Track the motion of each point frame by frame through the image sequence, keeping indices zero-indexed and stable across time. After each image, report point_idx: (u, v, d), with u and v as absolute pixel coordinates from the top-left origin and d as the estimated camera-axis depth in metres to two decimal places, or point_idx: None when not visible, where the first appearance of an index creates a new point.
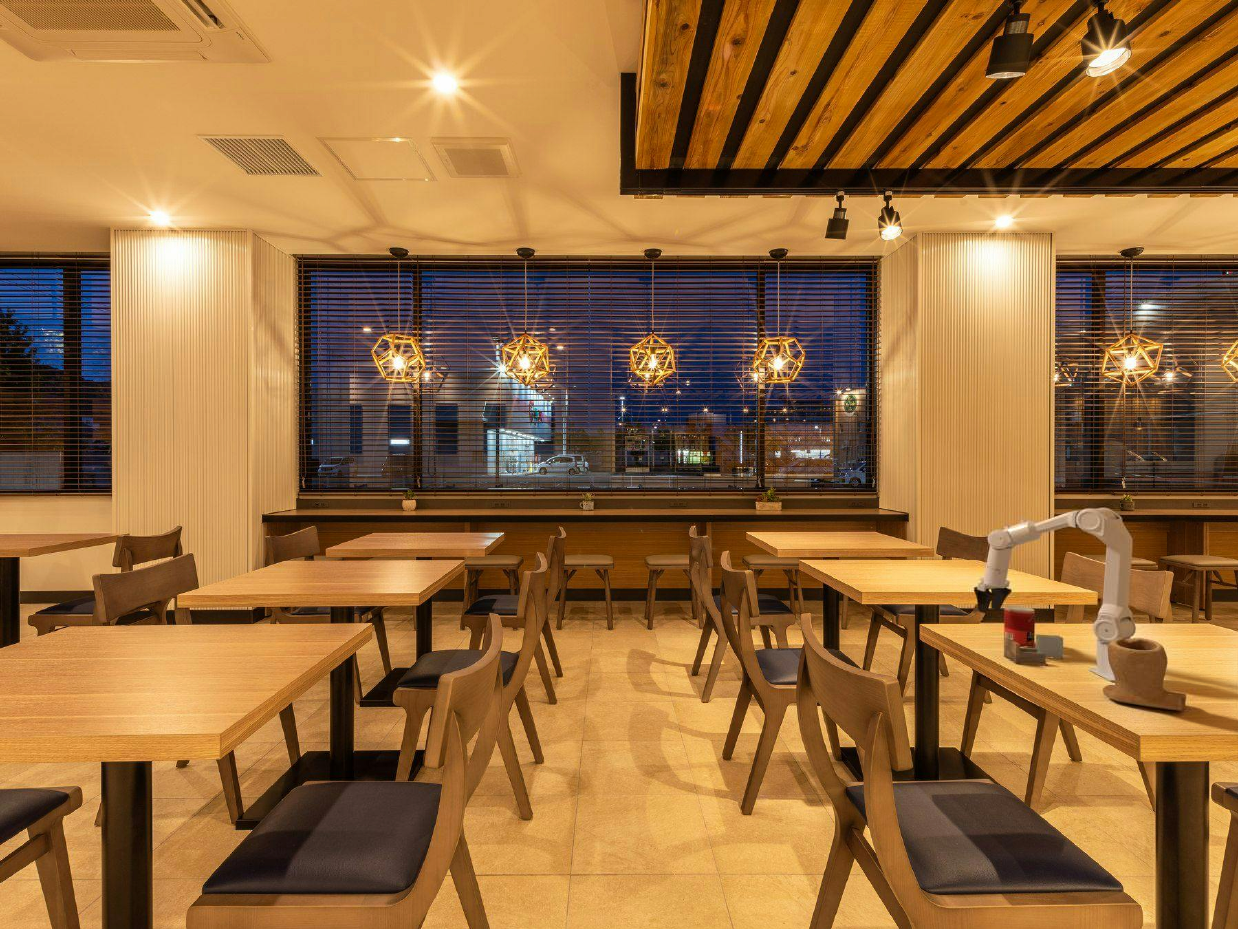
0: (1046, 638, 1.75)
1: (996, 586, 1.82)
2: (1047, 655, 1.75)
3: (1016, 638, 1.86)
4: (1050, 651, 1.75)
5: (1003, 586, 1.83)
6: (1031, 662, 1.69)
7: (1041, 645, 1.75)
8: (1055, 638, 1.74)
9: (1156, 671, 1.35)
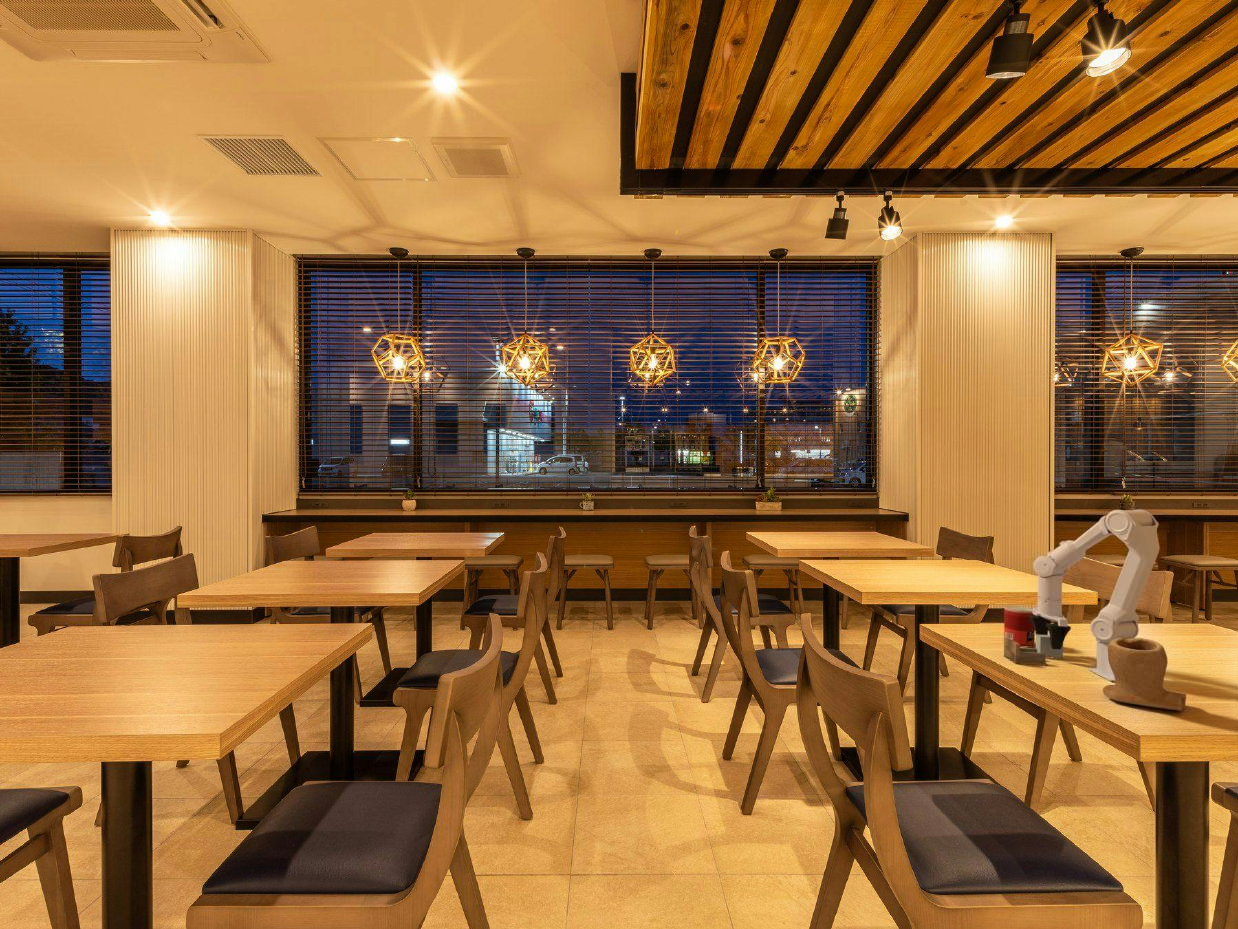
0: (1046, 638, 1.75)
1: (1063, 617, 1.73)
2: (1047, 655, 1.75)
3: (1016, 638, 1.86)
4: (1050, 651, 1.75)
5: None
6: (1031, 662, 1.69)
7: (1041, 645, 1.75)
8: None
9: (1156, 671, 1.35)
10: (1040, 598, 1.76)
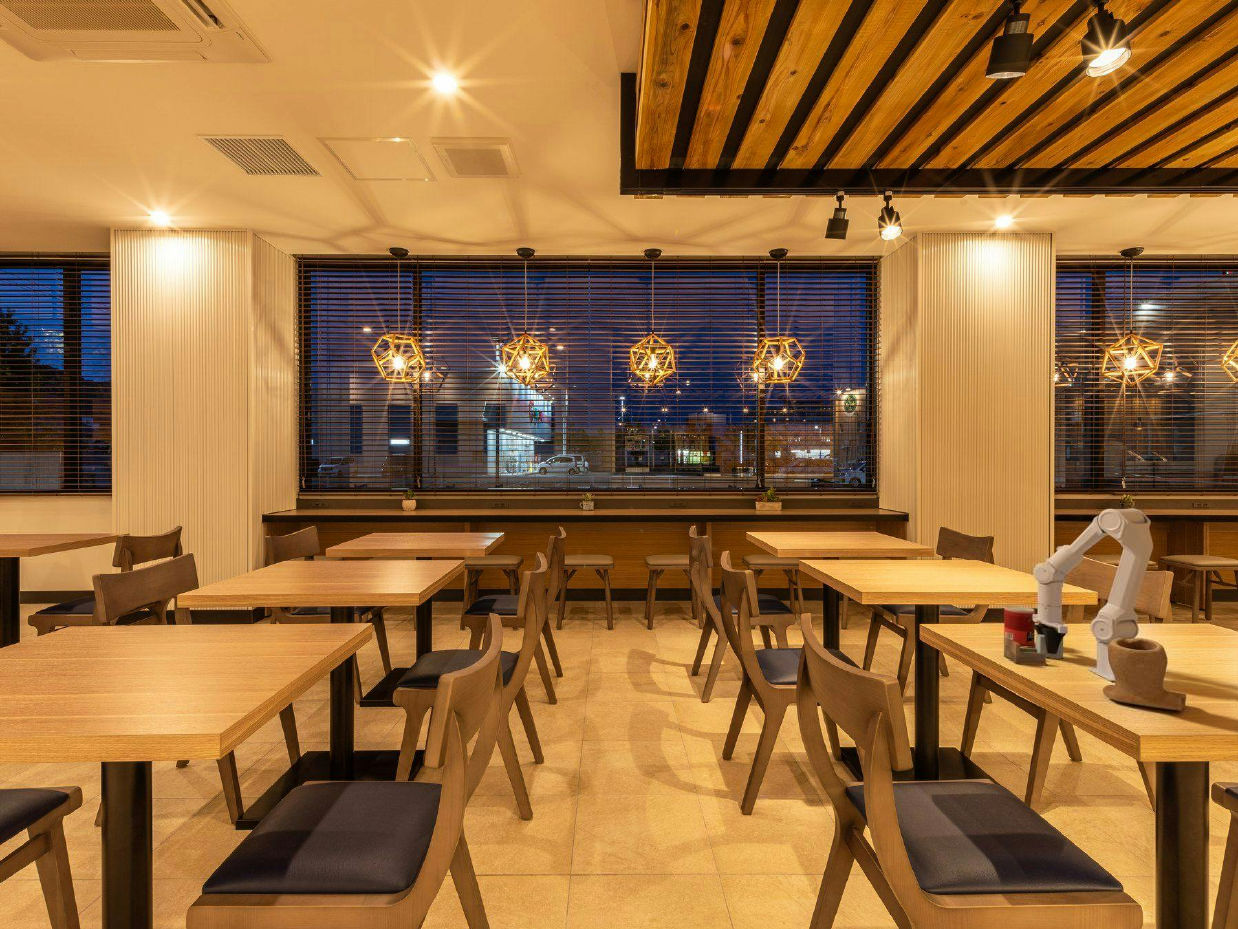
0: None
1: (1063, 624, 1.73)
2: (1047, 655, 1.75)
3: (1016, 638, 1.86)
4: None
5: None
6: (1031, 662, 1.69)
7: (1041, 644, 1.75)
8: None
9: (1156, 672, 1.35)
10: (1040, 605, 1.76)
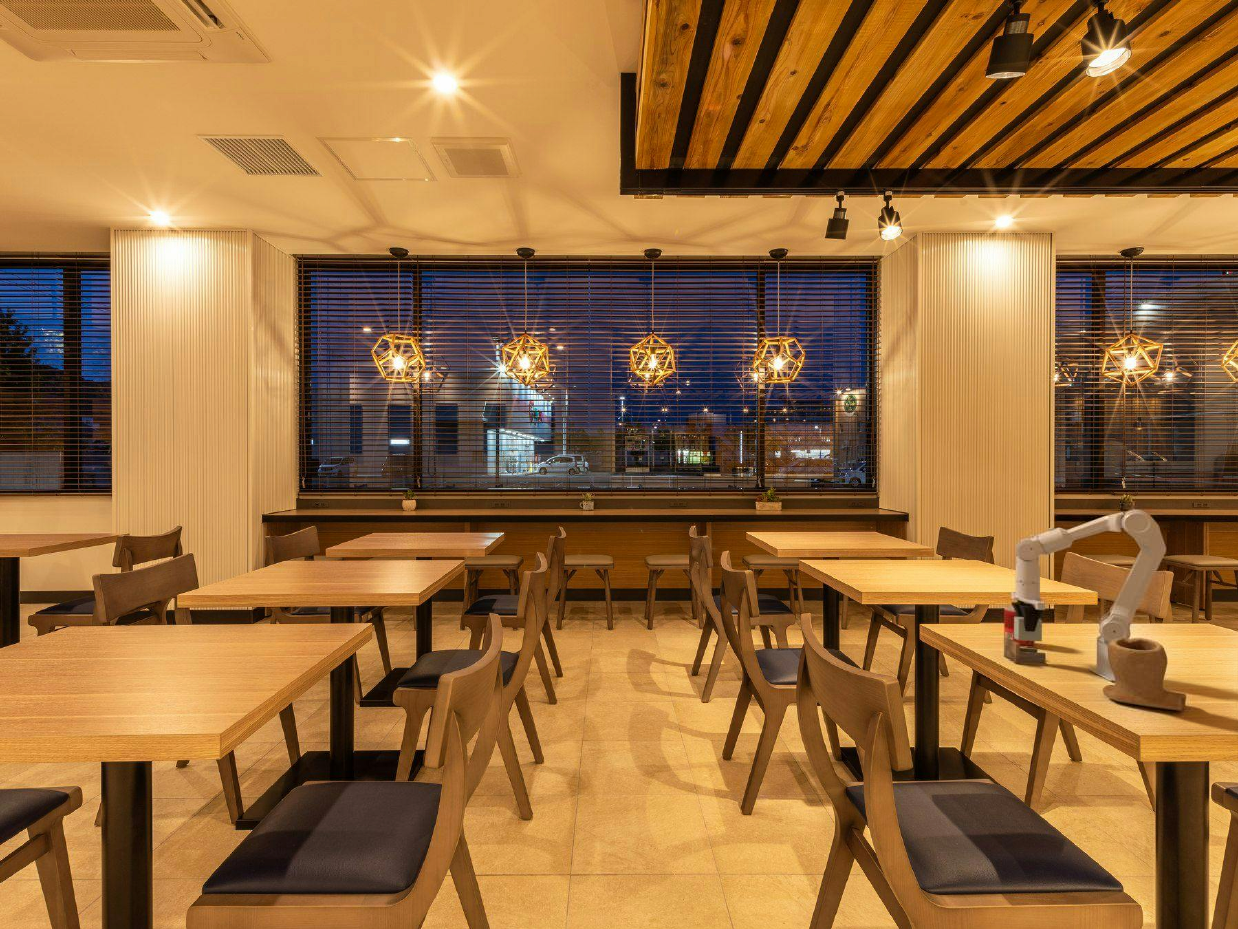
0: None
1: (1041, 600, 1.68)
2: (1025, 637, 1.71)
3: None
4: (1029, 634, 1.70)
5: None
6: (1031, 662, 1.69)
7: (1019, 627, 1.71)
8: None
9: (1156, 672, 1.35)
10: (1018, 581, 1.71)
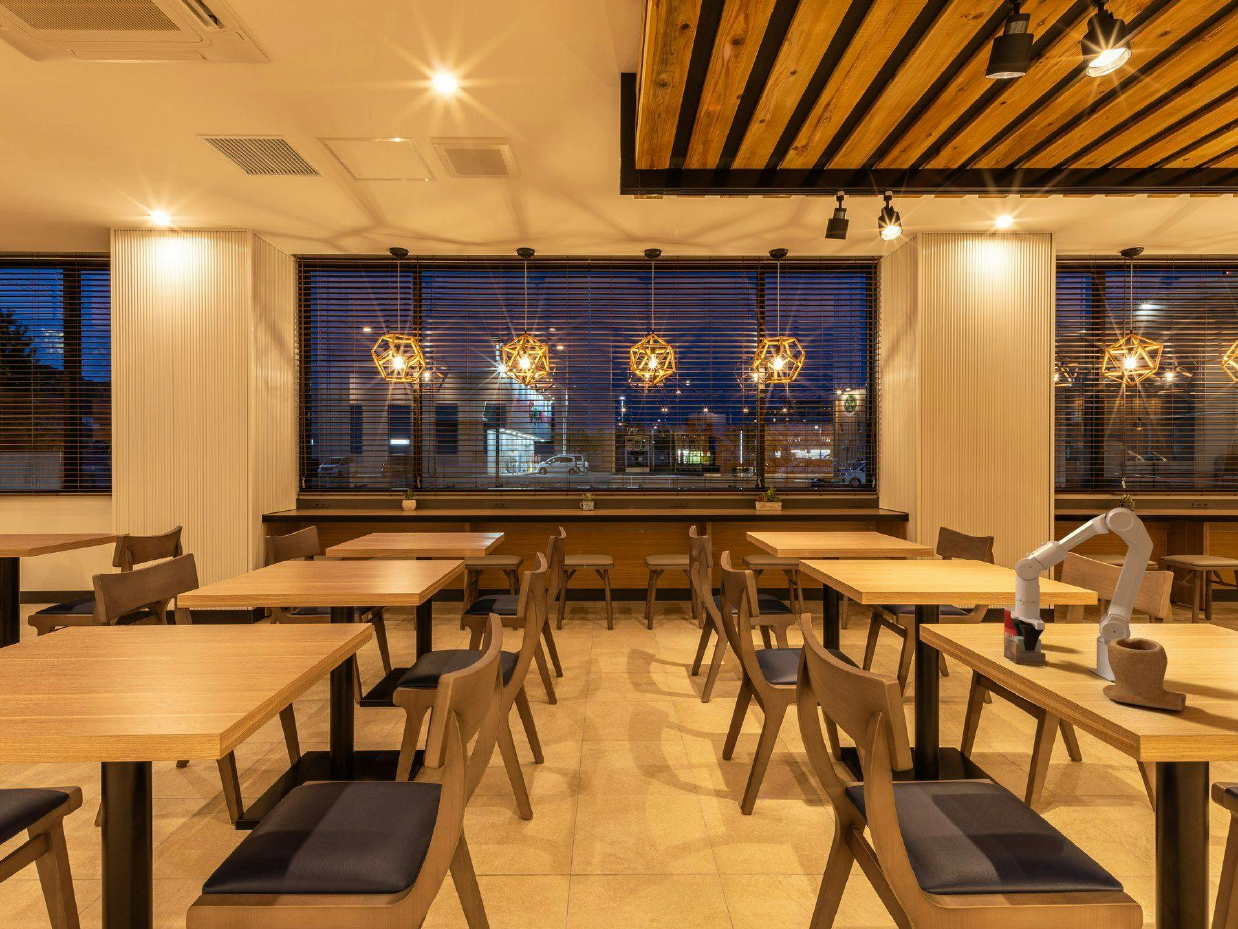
0: None
1: (1041, 620, 1.68)
2: None
3: None
4: None
5: None
6: (1031, 662, 1.69)
7: None
8: None
9: (1156, 672, 1.35)
10: (1018, 601, 1.71)
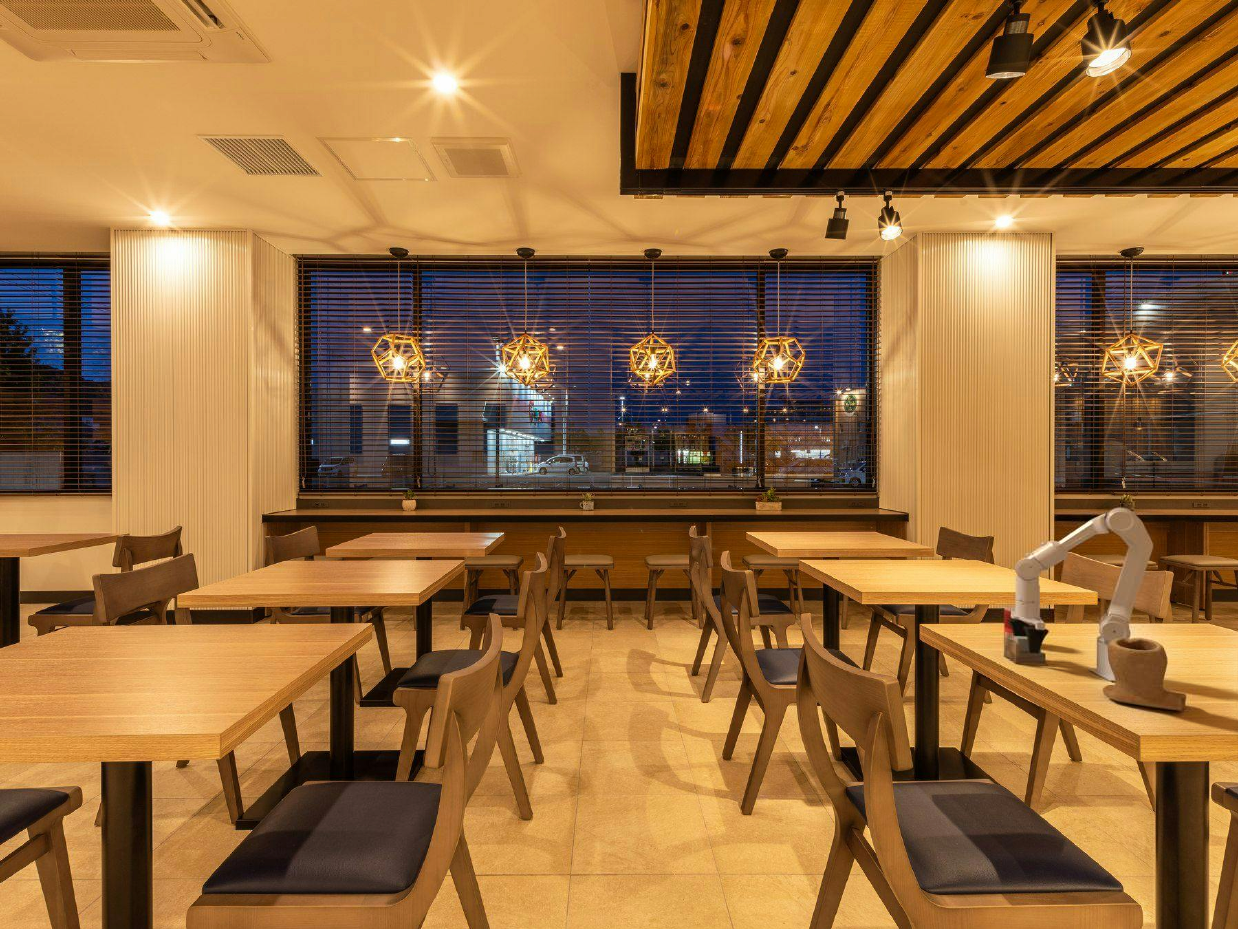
0: (1024, 640, 1.71)
1: (1041, 620, 1.68)
2: None
3: None
4: None
5: None
6: (1031, 662, 1.69)
7: None
8: None
9: (1156, 672, 1.35)
10: (1018, 601, 1.71)
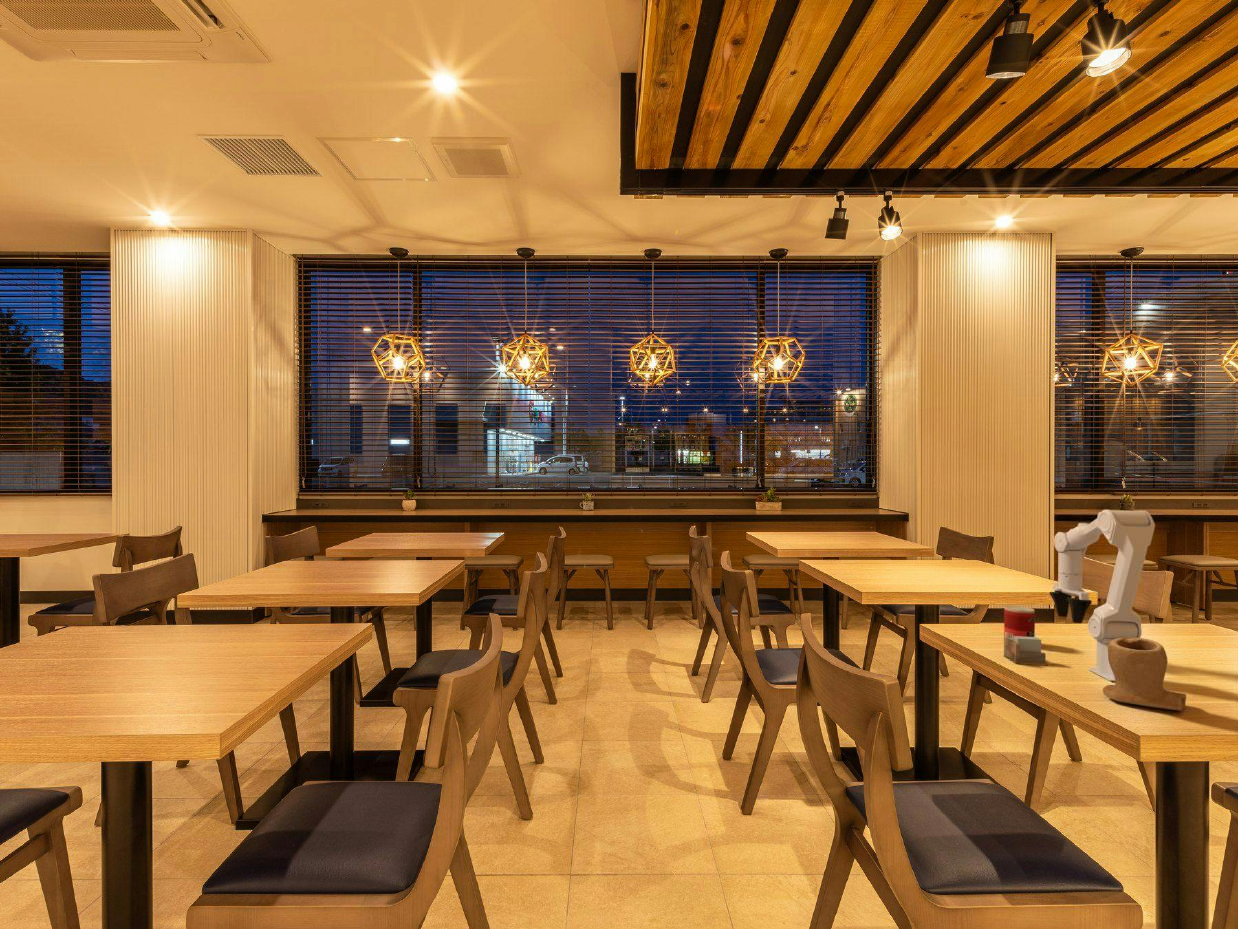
0: (1024, 640, 1.71)
1: (1084, 591, 1.76)
2: None
3: None
4: None
5: None
6: (1031, 662, 1.69)
7: None
8: (1033, 640, 1.70)
9: (1156, 671, 1.35)
10: (1061, 573, 1.79)
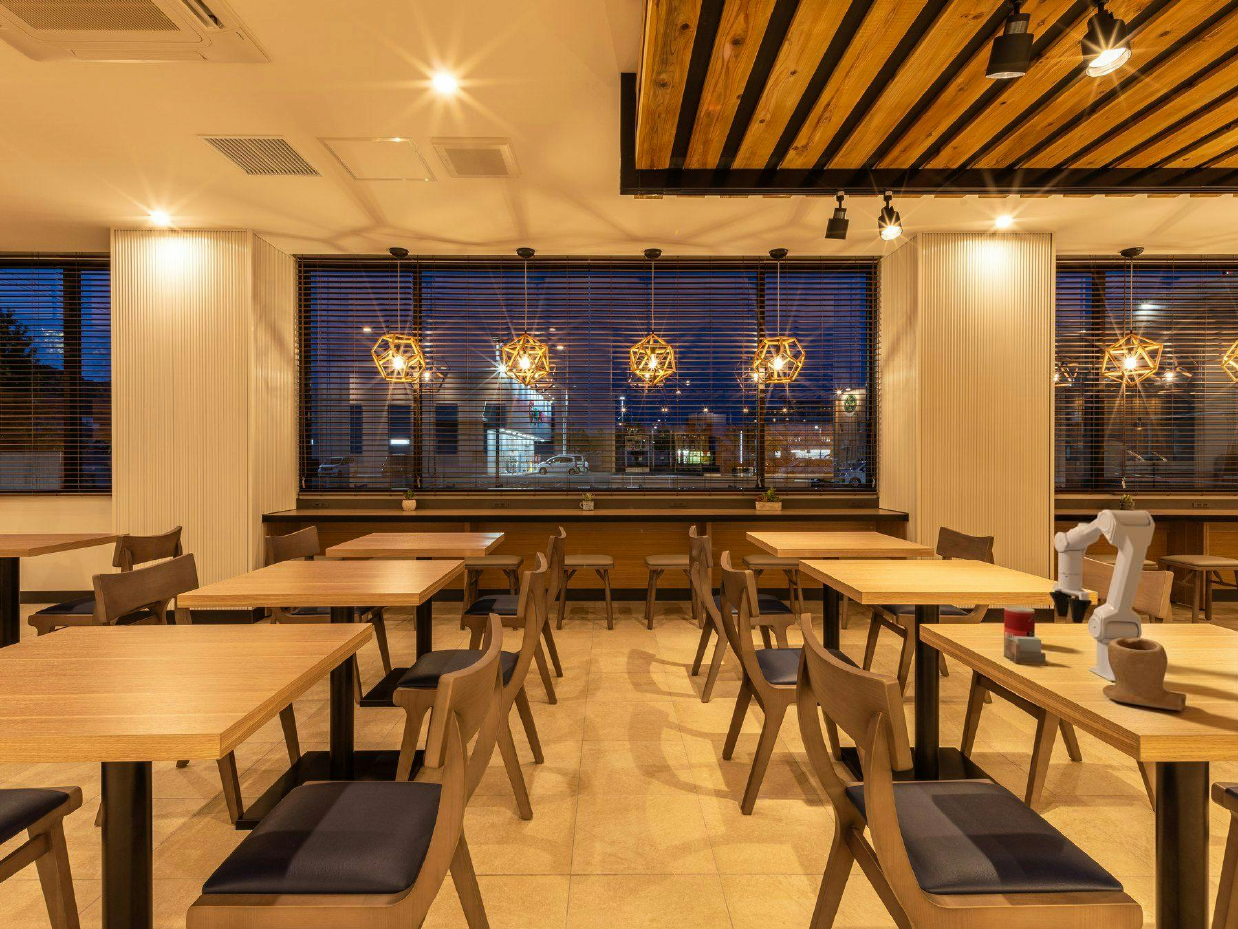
0: (1024, 640, 1.71)
1: (1084, 591, 1.76)
2: None
3: None
4: None
5: None
6: (1031, 662, 1.69)
7: None
8: (1033, 640, 1.70)
9: (1156, 672, 1.35)
10: (1061, 573, 1.79)
